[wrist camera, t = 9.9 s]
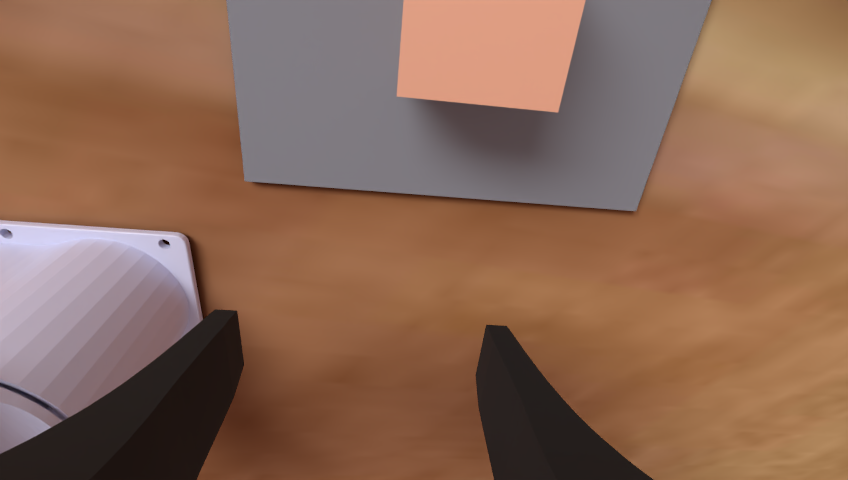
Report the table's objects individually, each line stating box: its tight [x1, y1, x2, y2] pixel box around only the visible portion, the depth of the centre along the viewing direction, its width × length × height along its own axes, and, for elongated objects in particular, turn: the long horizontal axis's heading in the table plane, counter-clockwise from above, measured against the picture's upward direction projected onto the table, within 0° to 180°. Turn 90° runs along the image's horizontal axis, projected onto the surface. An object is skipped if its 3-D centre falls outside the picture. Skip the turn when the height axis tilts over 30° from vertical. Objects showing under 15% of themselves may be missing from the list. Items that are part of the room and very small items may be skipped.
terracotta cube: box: [397, 0, 586, 112], centre depth 15 cm, size 5×5×5 cm
